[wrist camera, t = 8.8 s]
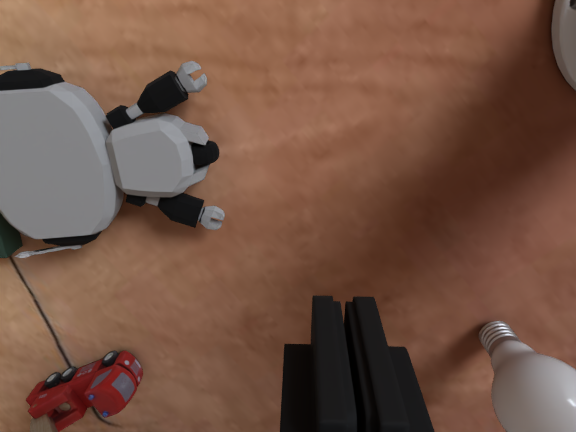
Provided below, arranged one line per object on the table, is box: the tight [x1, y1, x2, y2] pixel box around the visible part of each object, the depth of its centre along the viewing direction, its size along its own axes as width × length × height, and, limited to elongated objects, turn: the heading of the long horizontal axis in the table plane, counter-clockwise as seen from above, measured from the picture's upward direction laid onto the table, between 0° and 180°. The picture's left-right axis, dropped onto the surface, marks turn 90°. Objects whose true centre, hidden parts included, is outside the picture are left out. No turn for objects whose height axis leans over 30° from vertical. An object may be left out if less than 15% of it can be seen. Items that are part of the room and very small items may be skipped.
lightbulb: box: [479, 321, 576, 432], centre depth 30 cm, size 6×6×11 cm
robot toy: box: [0, 61, 225, 258], centre depth 27 cm, size 12×4×15 cm
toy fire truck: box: [26, 351, 143, 432], centre depth 33 cm, size 3×14×10 cm, turn 113°
